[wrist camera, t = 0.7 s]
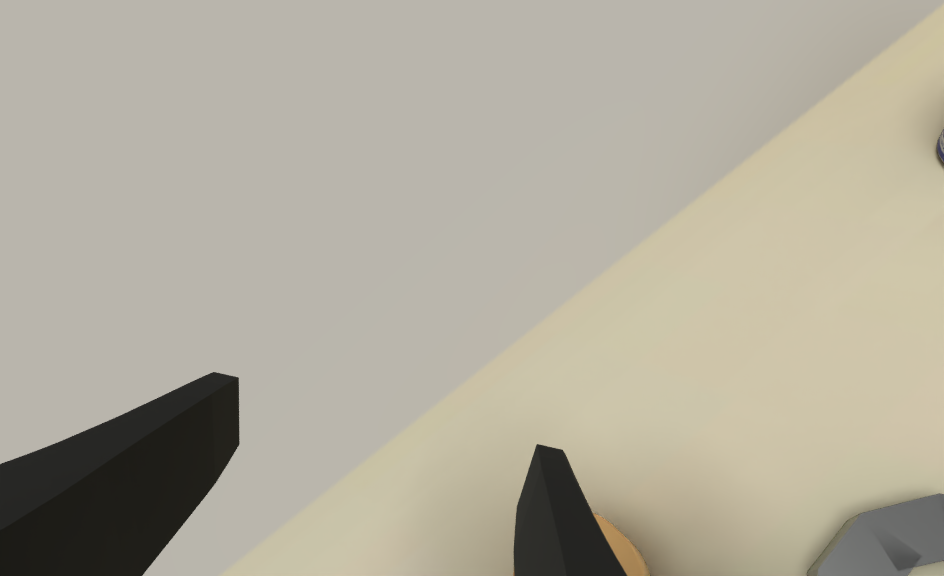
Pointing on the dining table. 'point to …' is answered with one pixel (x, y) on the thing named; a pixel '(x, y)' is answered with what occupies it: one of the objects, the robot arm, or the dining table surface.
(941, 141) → the energy drink
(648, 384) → the dining table surface
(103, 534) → the robot arm
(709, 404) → the dining table surface
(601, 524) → the cap
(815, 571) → the barrel ring
